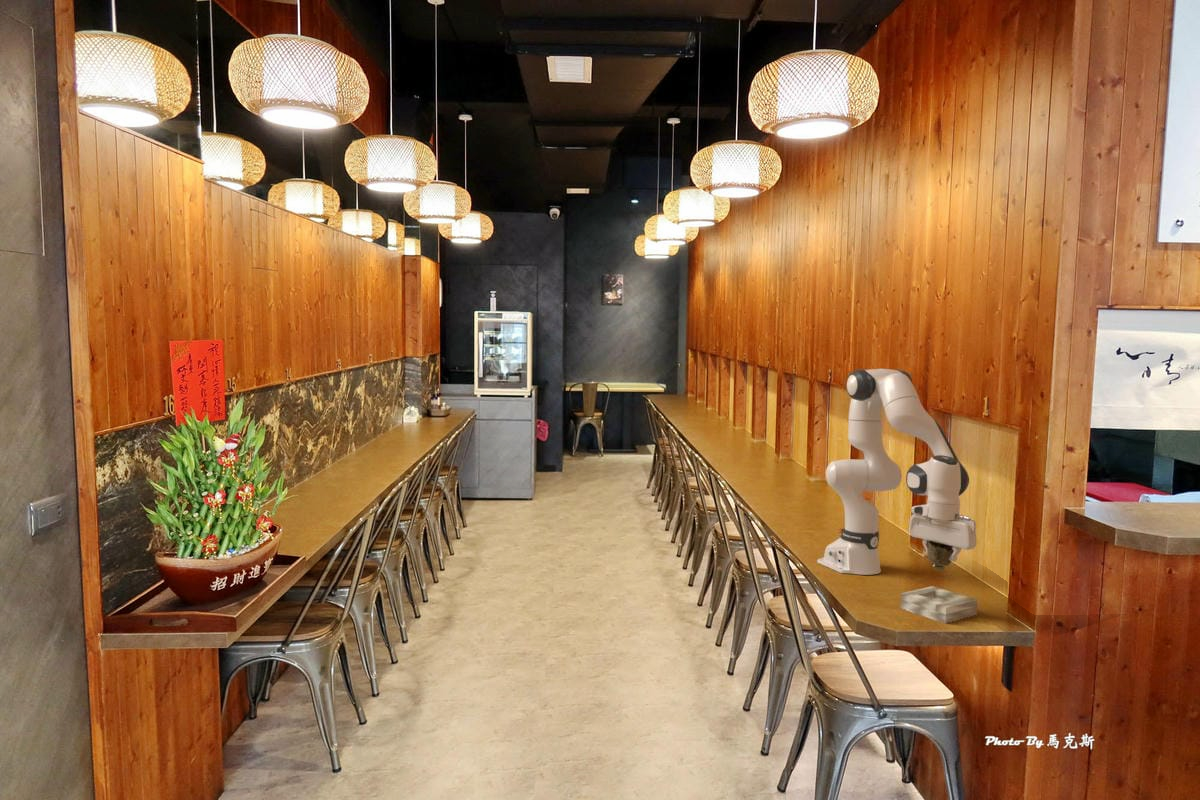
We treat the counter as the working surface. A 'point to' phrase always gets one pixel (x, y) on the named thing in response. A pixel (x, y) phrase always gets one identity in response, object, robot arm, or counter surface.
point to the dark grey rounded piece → (939, 555)
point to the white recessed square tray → (939, 604)
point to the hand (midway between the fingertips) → (940, 558)
